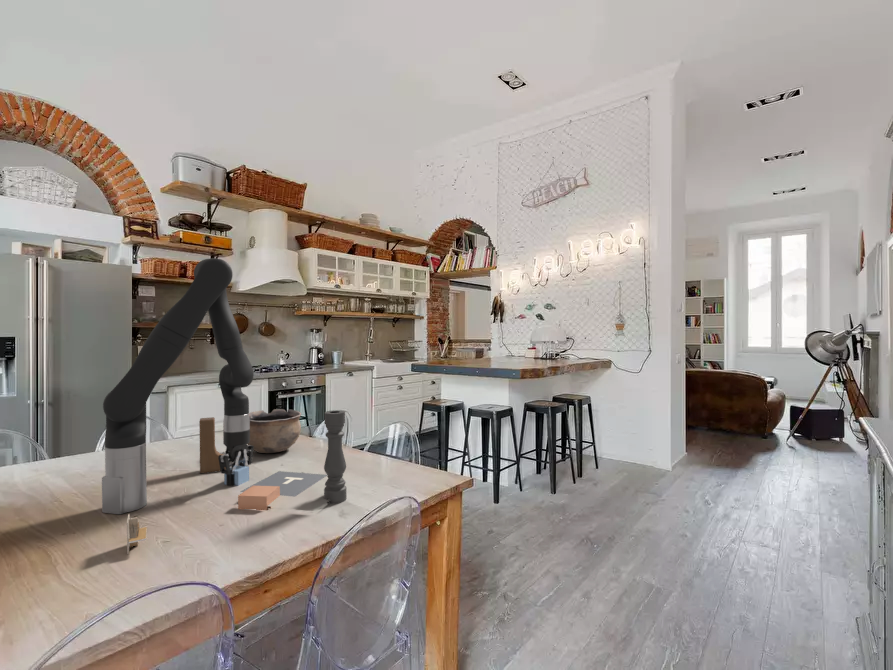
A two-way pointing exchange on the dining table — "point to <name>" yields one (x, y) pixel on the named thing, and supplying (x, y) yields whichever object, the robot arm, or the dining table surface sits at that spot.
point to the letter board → (290, 482)
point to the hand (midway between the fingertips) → (236, 482)
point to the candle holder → (335, 458)
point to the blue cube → (239, 475)
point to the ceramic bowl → (274, 430)
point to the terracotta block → (258, 497)
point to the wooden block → (208, 446)
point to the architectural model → (134, 532)
